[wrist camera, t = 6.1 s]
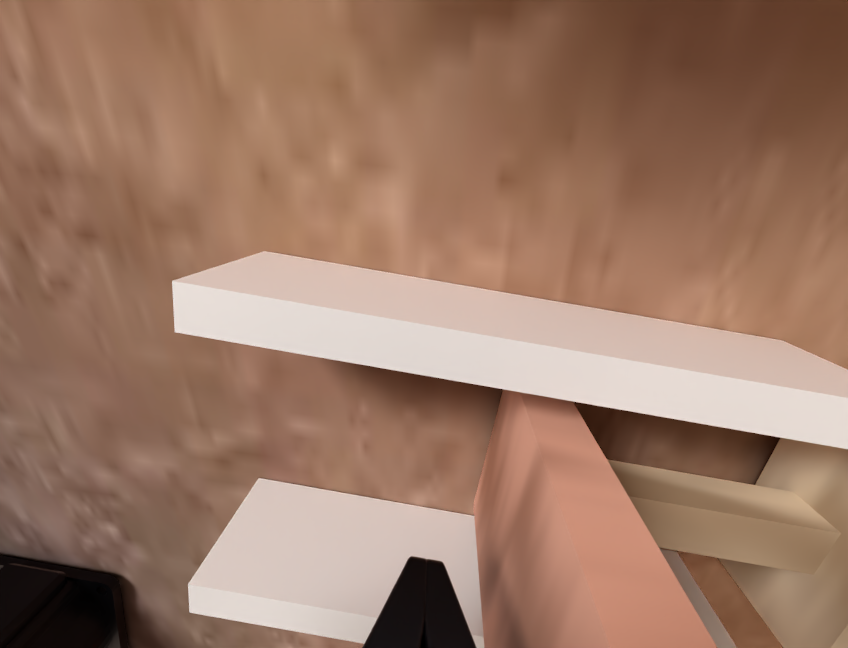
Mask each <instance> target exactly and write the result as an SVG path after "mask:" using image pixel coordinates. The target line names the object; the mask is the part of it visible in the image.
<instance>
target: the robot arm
mask: <svg viewBox="0 0 848 648" xmlns="http://www.w3.org/2000/svg"><path fill="white" fill-rule="evenodd" d="M0 648H128V644H127V636H126V629H125V621H124V613H123V606H122V598H121V591H120V584H119V581H118V580H117V579H116V578H115V577H113V576H111V575H108V574H102V573H96V572H91V571H85V570H80V569H74V568H68V567H63V566H57V565H52V564H46V563H40V562H35V561H29V560H23V559H18V558H12V557H7V556H1V555H0ZM362 648H477V647H476V645H475V642H474V640H473V637H472V634H471V632H470V629H469V627H468V624H467V621H466V619H465V616H464V614H463V611H462V608H461V606H460V603H459V601H458V598H457V595H456V593H455V590H454V588H453V585H452V583H451V580H450V577H449V575H448V572H447V570H446V567H445V565H444V563H443V562H442V561H438V560H432V559H425V558H420V557H415V556H411V557H409V558H408V560H407V562H406V564H405V566H404V568H403V570H402V572H401V574H400V576H399V577H398V579H397V581H396V583H395V585H394V587H393V589H392V591H391V593H390V595H389V597H388V599H387V601H386V603H385V605H384V607H383V609H382V610H381V612H380V614H379V616H378V618H377V620H376V622H375V624H374V626H373V628H372V630H371V632H370V634H369V636H368V638H367V640H366V642H365V643H364V645H363V647H362Z"/></svg>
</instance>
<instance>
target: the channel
mask: <svg viewBox="0 0 848 648" xmlns="http://www.w3.org/2000/svg"><path fill="white" fill-rule="evenodd" d="M172 287H173V306H174V325H175V332H177V333H183V334H188V335H194V336H200V337H206V338H211V339H217V340H223V341H229V342H234V343H240V344H246V345H252V346H257V347H263V348H269V349H275V350H280V351H286V352H292V353H298V354H303V355H309V356H315V357H321V358H326V359H332V360H338V361H344V362H349V363H355V364H361V365H367V366H372V367H378V368H384V369H390V370H395V371H401V372H407V373H413V374H418V375H424V376H430V377H436V378H441V379H447V380H453V381H459V382H464V383H470V384H476V385H481V386H487V387H493V388H499V389H504V390H510V391H516V392H522V393H527V394H533V395H539V396H545V397H550V398H556V399H562V400H568V401H573V402H579V403H585V404H591V405H596V406H602V407H608V408H614V409H619V410H625V411H631V412H637V413H642V414H648V415H654V416H660V417H665V418H671V419H677V420H683V421H688V422H694V423H700V424H706V425H711V426H717V427H723V428H729V429H734V430H740V431H746V432H752V433H757V434H763V435H769V436H775V437H780V438H786V439H792V440H798V441H803V442H809V443H815V444H821V445H826V446H832V447H838V448H843V449H848V370H847V369H845V368H843V367H841V366H838V365H836V364H834V363H832V362H829V361H827V360H825V359H823V358H820V357H818V356H816V355H814V354H811V353H809V352H807V351H805V350H803V349H800V348H798V347H796V346H794V345H791V344H789V343H787V342H785V341H782V340H777V339H771V338H766V337H760V336H754V335H748V334H742V333H737V332H731V331H725V330H719V329H713V328H708V327H702V326H696V325H690V324H684V323H679V322H673V321H667V320H661V319H655V318H650V317H644V316H638V315H632V314H626V313H621V312H615V311H609V310H603V309H598V308H592V307H586V306H580V305H574V304H569V303H563V302H557V301H551V300H545V299H540V298H534V297H528V296H522V295H516V294H511V293H505V292H499V291H493V290H487V289H482V288H476V287H470V286H464V285H458V284H453V283H447V282H441V281H435V280H429V279H424V278H418V277H412V276H406V275H400V274H395V273H389V272H383V271H377V270H371V269H366V268H360V267H354V266H348V265H342V264H337V263H331V262H325V261H319V260H313V259H308V258H302V257H296V256H290V255H285V254H279V253H273V252H267V251H264V252H261V253H257V254H254V255H251V256H248V257H245V258H242V259H239V260H236V261H233V262H229V263H226V264H223V265H220V266H217V267H214V268H211V269H208V270H205V271H201V272H198V273H195V274H192V275H189V276H186V277H183V278H180V279H177V280H173V281H172ZM660 551H661V552H662V554H663V556H664V558H665V559H666V561H667V563H668V564H669V566H670V568H671V569H672V571H673V573H674V575H675V576H676V578H677V580H678V581H679V583H680V585H681V586H682V588H683V590H684V592H685V593H686V595H687V597H688V598H689V600H690V602H691V603H692V605H693V607H694V609H695V610H696V612H697V614H698V615H699V617H700V619H701V620H702V622H703V624H704V626H705V627H706V629H707V631H708V632H709V634H710V636H711V637H712V639H713V641H714V643H715V644H716V646H717V648H737V646H736V645H735V643H734V642H733V640H732V639H731V637H730V635H729V634H728V632H727V631H726V629H725V627H724V626H723V624H722V623H721V621H720V620H719V618H718V616H717V615H716V613H715V612H714V610H713V608H712V607H711V605H710V604H709V602H708V601H707V599H706V597H705V596H704V594H703V593H702V591H701V589H700V588H699V586H698V585H697V583H696V582H695V580H694V578H693V577H692V575H691V574H690V572H689V570H688V569H687V567H686V566H685V564H684V563H683V561H682V559H681V558H680V556H679V555H678V553H677V552H676V551H671V550H665V549H660ZM411 556H415V557H420V558H425V559H432V560H438V561H442V562H443V563H444V565H445V567H446V570H447V572H448V575H449V577H450V580H451V583H452V585H453V588H454V590H455V593H456V595H457V598H458V601H459V603H460V606H461V608H462V611H463V614H464V616H465V619H466V621H467V624H468V627H469V629H470V632H471V634H472V637H473V640H474V642H475V645H476V647H477V648H484V636H483V623H482V610H481V597H480V584H479V571H478V558H477V545H476V532H475V519H474V516H472V515H466V514H460V513H455V512H449V511H443V510H438V509H432V508H426V507H421V506H415V505H409V504H404V503H398V502H392V501H387V500H381V499H375V498H370V497H364V496H358V495H353V494H347V493H341V492H336V491H330V490H324V489H318V488H313V487H307V486H301V485H296V484H290V483H284V482H279V481H273V480H267V479H262V478H258V480H257V481H256V483H255V484H254V486H253V487H252V489H251V490H250V492H249V493H248V495H247V496H246V498H245V499H244V501H243V502H242V504H241V506H240V507H239V509H238V510H237V512H236V513H235V515H234V516H233V518H232V519H231V521H230V522H229V524H228V525H227V527H226V528H225V530H224V531H223V533H222V534H221V536H220V537H219V539H218V540H217V542H216V543H215V545H214V546H213V548H212V549H211V551H210V552H209V554H208V555H207V557H206V558H205V560H204V561H203V563H202V564H201V566H200V567H199V569H198V570H197V572H196V573H195V575H194V576H193V578H192V579H191V581H190V582H189V584H188V592H189V611H190V613H195V614H201V615H206V616H212V617H218V618H223V619H229V620H234V621H240V622H246V623H251V624H257V625H263V626H268V627H274V628H279V629H285V630H291V631H296V632H302V633H307V634H313V635H319V636H324V637H330V638H335V639H341V640H347V641H352V642H358V643H363V644H364V643H365V642H366V640H367V638H368V636H369V634H370V632H371V630H372V628H373V626H374V624H375V622H376V620H377V618H378V616H379V614H380V612H381V610H382V609H383V607H384V605H385V603H386V601H387V599H388V597H389V595H390V593H391V591H392V589H393V587H394V585H395V583H396V581H397V579H398V577H399V576H400V574H401V572H402V570H403V568H404V566H405V564H406V562H407V560H408V558H409V557H411Z"/></svg>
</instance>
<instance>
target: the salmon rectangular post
mask: <svg viewBox="0 0 848 648" xmlns="http://www.w3.org/2000/svg"><path fill="white" fill-rule="evenodd" d="M473 506H474V519H475V532H476V545H477V558H478V571H479V584H480V597H481V610H482V623H483V636H484V648H717V646H716V644H715V643H714V641H713V639H712V637H711V636H710V634H709V632H708V631H707V629H706V627H705V626H704V624H703V622H702V620H701V619H700V617H699V615H698V614H697V612H696V610H695V609H694V607H693V605H692V603H691V602H690V600H689V598H688V597H687V595H686V593H685V592H684V590H683V588H682V586H681V585H680V583H679V581H678V580H677V578H676V576H675V575H674V573H673V571H672V569H671V568H670V566H669V564H668V563H667V561H666V559H665V558H664V556H663V554H662V552H661V551H660V549H659V548H665V549H670V550H676V551H682V552H687V553H693V554H699V555H704V556H710V557H716V558H718V559H719V561H720V562H721V563H722V565H723V566H724V567H725V569H726V570H727V572H728V573H729V574H730V576H731V577H732V578H733V580H734V581H735V582H736V584H737V585H738V587H739V588H740V589H741V591H742V592H743V593H744V595H745V596H746V597H747V599H748V600H749V602H750V603H751V604H752V606H753V607H754V608H755V610H756V611H757V612H758V614H759V615H760V617H761V618H762V619H763V621H764V622H765V623H766V625H767V626H768V627H769V629H770V630H771V632H772V633H773V634H774V636H775V637H776V638H777V640H778V641H779V642H780V644H781V645H782V647H783V648H848V449H843V448H838V447H832V446H826V445H821V444H815V443H809V442H803V441H798V440H792V439H786V438H780V440H779V442H778V444H777V445H776V447H775V449H774V451H773V453H772V455H771V456H770V458H769V460H768V462H767V464H766V466H765V467H764V469H763V471H762V473H761V475H760V477H759V478H758V480H757V482H756V484H755V485H751V484H746V483H740V482H734V481H729V480H723V479H717V478H711V477H706V476H700V475H694V474H689V473H683V472H677V471H671V470H666V469H660V468H654V467H649V466H643V465H637V464H631V463H626V462H620V461H614V460H608V459H606V457H605V456H604V454H603V452H602V451H601V449H600V447H599V445H598V444H597V442H596V440H595V439H594V437H593V435H592V434H591V432H590V430H589V428H588V427H587V425H586V423H585V422H584V420H583V418H582V417H581V415H580V413H579V411H578V410H577V408H576V406H575V405H574V403H573V401H568V400H562V399H556V398H550V397H545V396H539V395H533V394H527V393H522V392H516V391H510V390H504V389H503V392H502V395H501V399H500V403H499V407H498V411H497V415H496V419H495V423H494V427H493V430H492V434H491V438H490V442H489V446H488V450H487V454H486V458H485V462H484V465H483V469H482V473H481V477H480V481H479V485H478V489H477V493H476V497H475V500H474V504H473Z"/></svg>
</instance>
